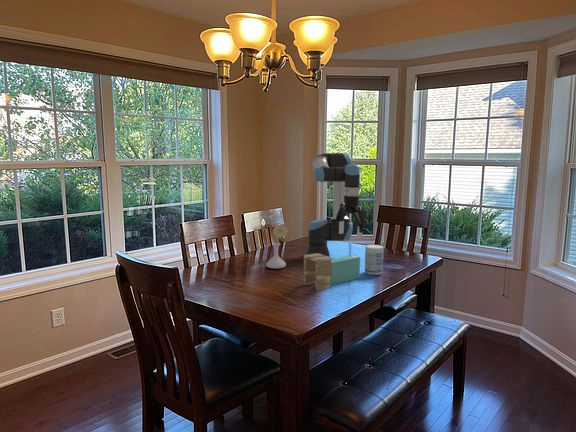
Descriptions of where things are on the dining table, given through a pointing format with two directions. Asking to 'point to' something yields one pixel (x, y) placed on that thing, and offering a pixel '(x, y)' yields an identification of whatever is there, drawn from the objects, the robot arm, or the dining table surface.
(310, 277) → the tunnel
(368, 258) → the supplement tub
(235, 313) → the dining table surface
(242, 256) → the dining table surface
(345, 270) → the beige-capped teal block
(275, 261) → the flower in vase
